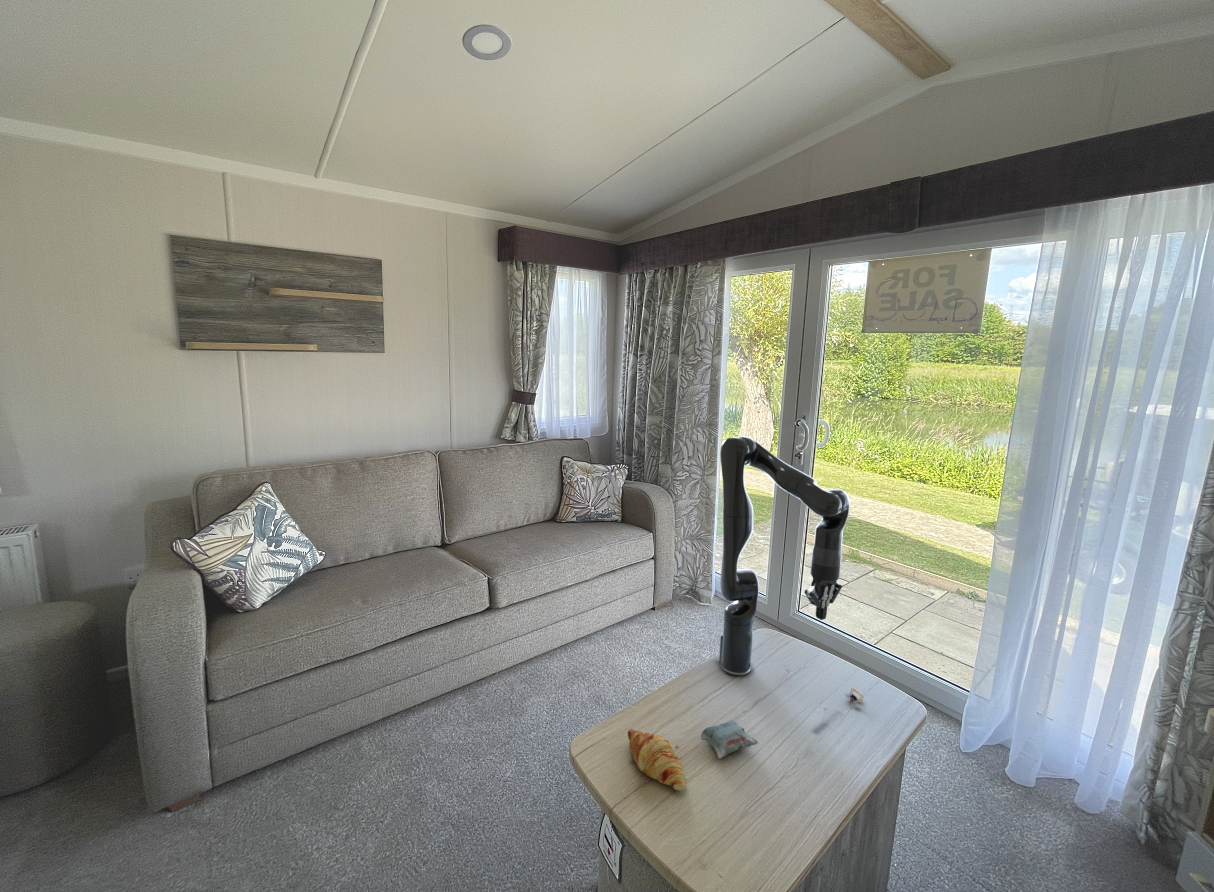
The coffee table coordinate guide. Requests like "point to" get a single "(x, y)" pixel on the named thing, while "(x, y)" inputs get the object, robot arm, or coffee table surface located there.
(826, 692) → the coffee table surface
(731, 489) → the robot arm
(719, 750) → the packaged food
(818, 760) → the coffee table surface
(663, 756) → the croissant
